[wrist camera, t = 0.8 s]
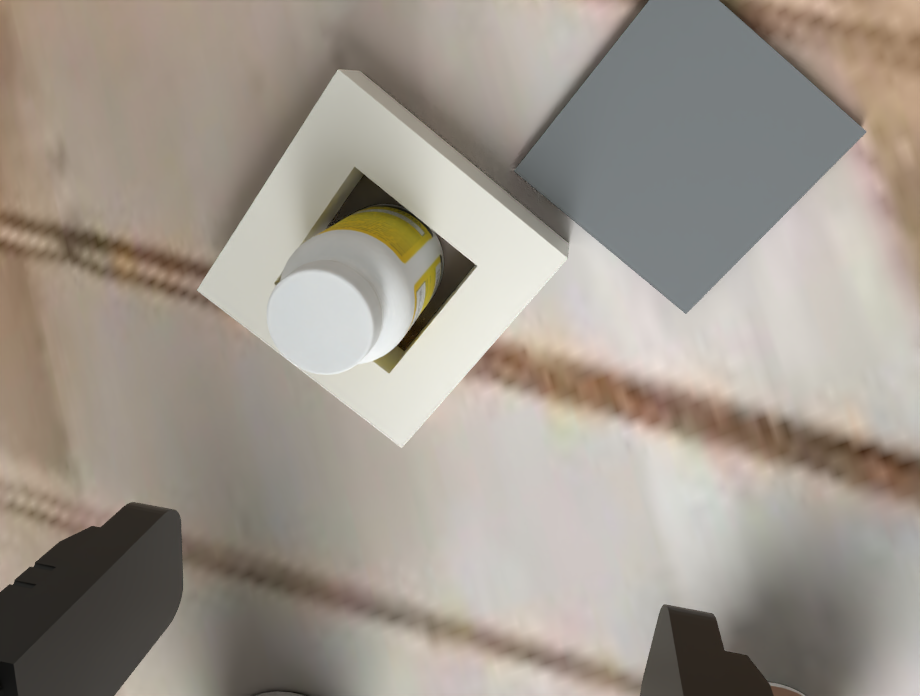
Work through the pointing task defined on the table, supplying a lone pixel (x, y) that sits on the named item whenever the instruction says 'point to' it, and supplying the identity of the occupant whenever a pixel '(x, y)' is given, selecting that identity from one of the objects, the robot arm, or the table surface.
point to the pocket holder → (427, 197)
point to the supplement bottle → (354, 289)
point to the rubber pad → (687, 145)
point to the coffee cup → (784, 690)
